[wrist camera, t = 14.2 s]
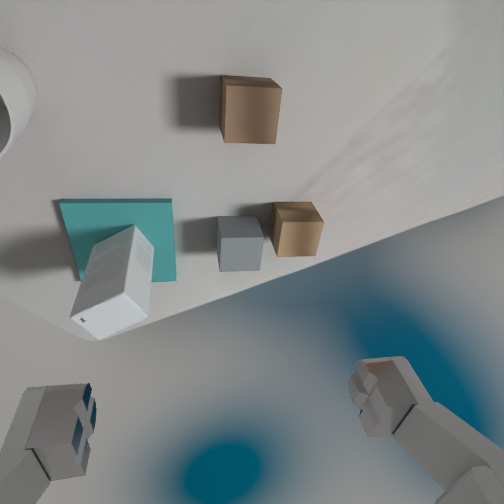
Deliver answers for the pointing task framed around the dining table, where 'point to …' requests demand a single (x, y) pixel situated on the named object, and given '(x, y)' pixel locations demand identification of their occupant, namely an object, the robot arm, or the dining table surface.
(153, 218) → the teal mat
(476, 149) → the dining table surface
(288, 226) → the light brown wooden cube
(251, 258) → the slate grey block
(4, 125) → the cup
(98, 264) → the skincare box
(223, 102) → the walnut block
